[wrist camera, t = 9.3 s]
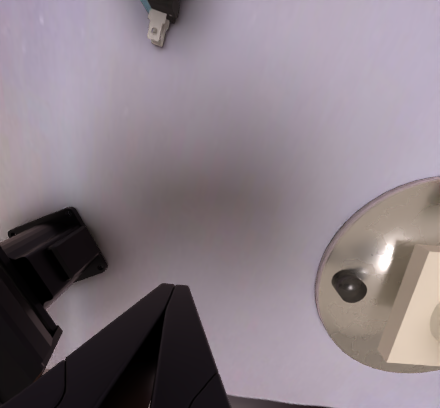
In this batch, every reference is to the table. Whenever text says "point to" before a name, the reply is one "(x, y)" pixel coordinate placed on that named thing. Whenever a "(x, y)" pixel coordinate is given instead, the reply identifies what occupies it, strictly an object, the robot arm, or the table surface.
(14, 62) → the table surface
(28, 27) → the table surface
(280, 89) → the table surface
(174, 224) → the table surface
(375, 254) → the silver round metal plate
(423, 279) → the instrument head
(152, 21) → the push button
